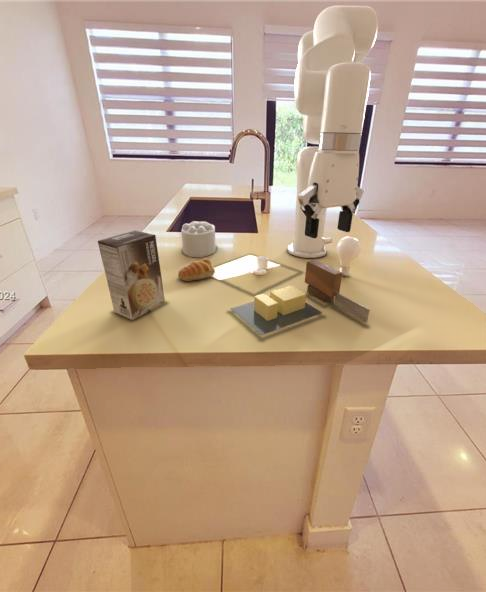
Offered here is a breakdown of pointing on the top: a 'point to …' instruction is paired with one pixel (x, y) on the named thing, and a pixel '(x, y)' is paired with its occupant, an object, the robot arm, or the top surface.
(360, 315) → the knife
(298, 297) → the butter block
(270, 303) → the butter slice
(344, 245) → the lightbulb
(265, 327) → the butter dish
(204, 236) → the lumpy-topped squat cylinder
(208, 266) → the pastry
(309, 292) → the knife rest
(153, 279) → the coffee box
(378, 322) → the top surface
